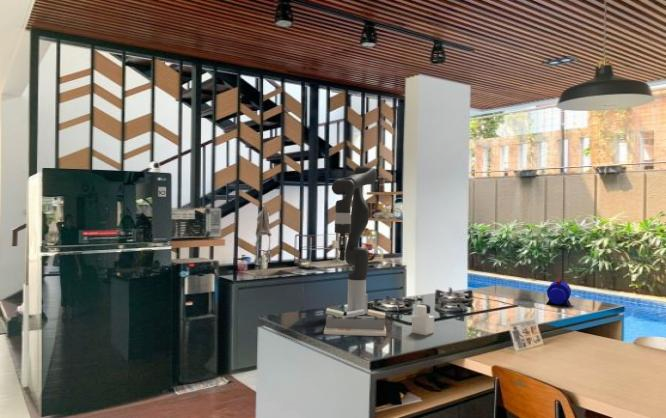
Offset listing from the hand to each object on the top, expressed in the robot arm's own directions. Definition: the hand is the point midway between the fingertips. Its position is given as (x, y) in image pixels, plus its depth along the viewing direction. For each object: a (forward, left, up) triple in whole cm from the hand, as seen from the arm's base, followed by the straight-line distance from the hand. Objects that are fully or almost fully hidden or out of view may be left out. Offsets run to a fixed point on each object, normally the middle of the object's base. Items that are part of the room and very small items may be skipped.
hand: (342, 260), depth 237 cm
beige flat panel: (-7, +20, -23) cm, 31 cm away
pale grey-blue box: (+1, +15, -23) cm, 28 cm away
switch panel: (+2, +17, -29) cm, 34 cm away
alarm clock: (-139, +3, -29) cm, 142 cm away
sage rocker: (+9, +11, -23) cm, 27 cm away
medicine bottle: (-24, +30, -29) cm, 48 cm away
